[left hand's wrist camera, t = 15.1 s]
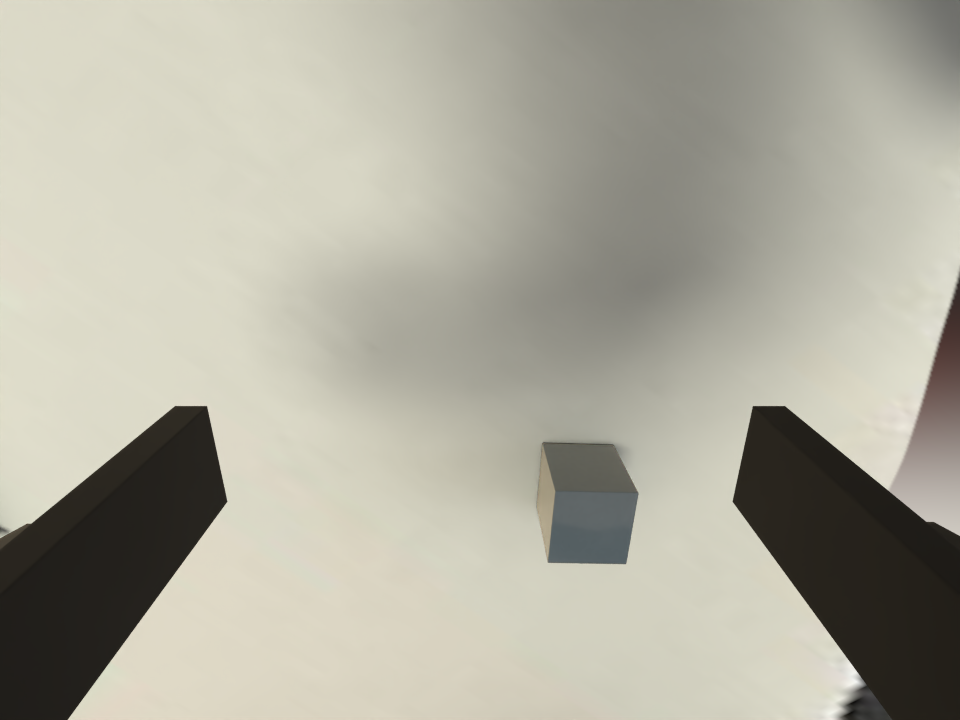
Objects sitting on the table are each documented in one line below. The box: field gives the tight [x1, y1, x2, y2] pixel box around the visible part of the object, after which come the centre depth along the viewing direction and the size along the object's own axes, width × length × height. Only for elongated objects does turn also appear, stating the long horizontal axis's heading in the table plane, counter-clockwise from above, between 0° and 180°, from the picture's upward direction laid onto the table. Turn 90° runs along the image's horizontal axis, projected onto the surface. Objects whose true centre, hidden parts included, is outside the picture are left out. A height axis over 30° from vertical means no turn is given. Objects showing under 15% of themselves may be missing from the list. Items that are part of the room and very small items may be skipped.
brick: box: [537, 443, 638, 564], centre depth 30 cm, size 5×4×5 cm
